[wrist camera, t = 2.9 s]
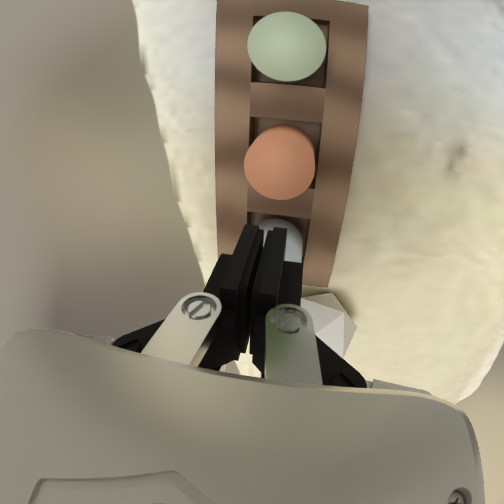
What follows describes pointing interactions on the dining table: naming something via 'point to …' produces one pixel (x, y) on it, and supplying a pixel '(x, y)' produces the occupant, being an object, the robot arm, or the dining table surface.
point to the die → (330, 321)
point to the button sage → (286, 46)
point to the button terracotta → (280, 162)
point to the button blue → (293, 238)
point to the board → (289, 112)
